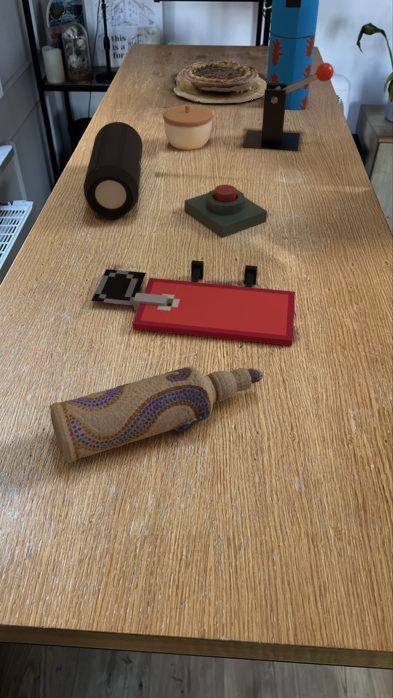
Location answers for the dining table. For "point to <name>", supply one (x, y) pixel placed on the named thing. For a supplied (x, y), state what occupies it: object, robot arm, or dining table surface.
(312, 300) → the dining table surface
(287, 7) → the robot arm
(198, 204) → the button box
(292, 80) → the thermos
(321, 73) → the lever
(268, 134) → the bracket
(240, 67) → the pie
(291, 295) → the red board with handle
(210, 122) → the trinket box
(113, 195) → the portable speaker
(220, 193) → the button
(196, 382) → the decorative bottle
